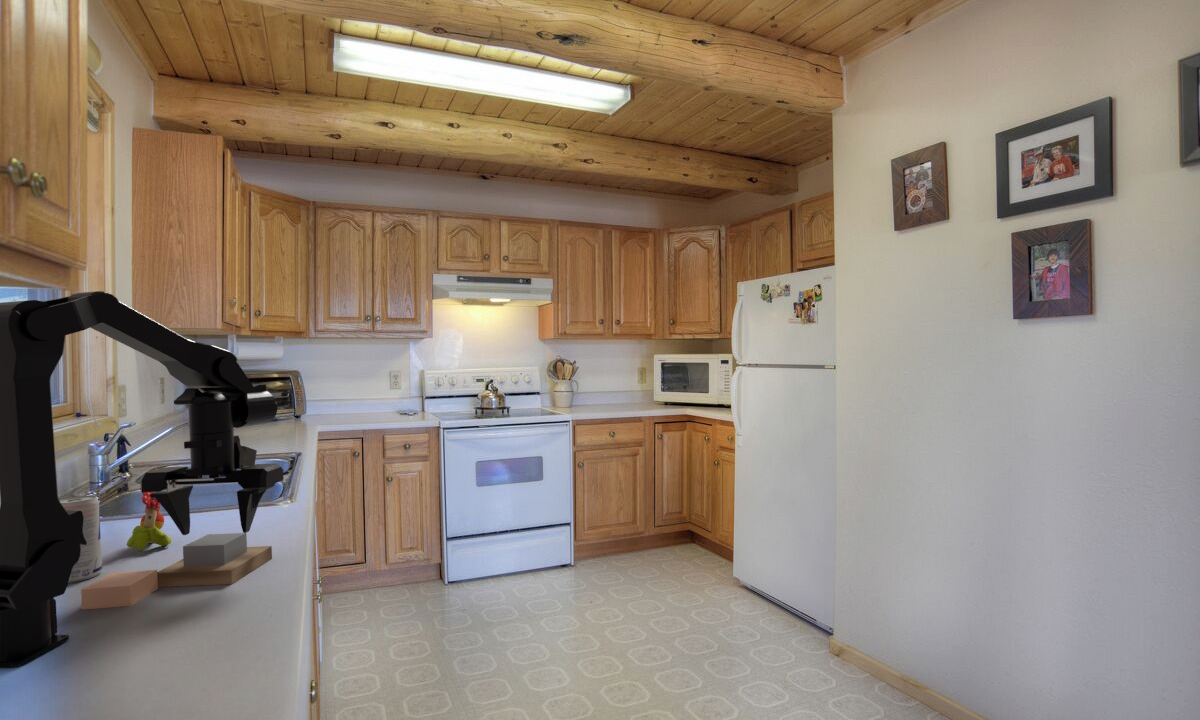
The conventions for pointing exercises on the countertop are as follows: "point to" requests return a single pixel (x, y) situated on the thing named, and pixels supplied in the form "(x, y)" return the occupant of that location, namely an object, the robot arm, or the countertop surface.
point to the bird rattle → (149, 526)
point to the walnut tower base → (214, 570)
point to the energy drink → (87, 537)
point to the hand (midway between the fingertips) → (216, 533)
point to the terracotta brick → (119, 589)
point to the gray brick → (214, 549)
